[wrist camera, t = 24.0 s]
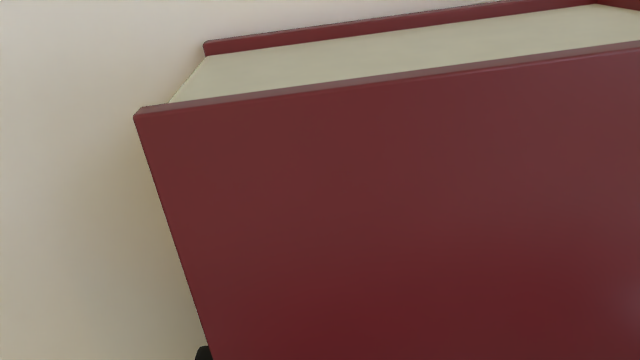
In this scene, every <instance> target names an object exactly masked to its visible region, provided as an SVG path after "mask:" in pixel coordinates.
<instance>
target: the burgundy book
mask: <svg viewBox="0 0 640 360" xmlns="http://www.w3.org/2000/svg"><path fill="white" fill-rule="evenodd" d="M203 49H204V53H205V58H204V60H203V61H202V62H201V63H200V64H199V66H198V67H197V68H196V69H195V70H194V72H193V73H192V74H191V75H190V76H189V78H188V79H187V80H186V81H185V82H184V84H183V85H182V86H181V87H180V89H179V90H178V91H177V92H176V93H175V95H174V96H173V97H172V98H171V99H170V101H169V102H168V103H167V104H159V105H152V106H144V107H141V108H140V109H139V110H138V111H137V112H136V113H135V114H134V115H133V120H134V123H135V126H136V129H137V132H138V135H139V138H140V141H141V144H142V147H143V150H144V153H145V156H146V159H147V162H148V165H149V168H150V171H151V174H152V177H153V180H154V183H155V186H156V189H157V192H158V195H159V198H160V201H161V205H162V208H163V211H164V214H165V217H166V220H167V223H168V226H169V229H170V232H171V235H172V238H173V241H174V244H175V247H176V250H177V253H178V256H179V259H180V262H181V265H182V268H183V271H184V274H185V277H186V280H187V283H188V286H189V289H190V292H191V295H192V298H193V301H194V304H195V307H196V310H197V313H198V316H199V319H200V322H201V325H202V328H203V331H204V334H205V337H206V340H207V343H208V346H209V349H210V352H211V355H212V358H213V360H640V0H505V1H498V2H490V3H483V4H476V5H468V6H461V7H453V8H446V9H439V10H431V11H424V12H416V13H409V14H401V15H394V16H387V17H379V18H372V19H364V20H357V21H350V22H342V23H335V24H327V25H320V26H312V27H305V28H298V29H290V30H283V31H275V32H268V33H261V34H253V35H246V36H238V37H231V38H224V39H216V40H209V41H206V42H205V43H204V44H203Z"/></svg>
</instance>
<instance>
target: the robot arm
mask: <svg viewBox="0 0 640 360" xmlns="http://www.w3.org/2000/svg"><path fill="white" fill-rule="evenodd" d="M195 360H213V358H212V355H211V352H210V349H209V346H202V347H200V348H199V349H198V351H197V354H196V357H195Z"/></svg>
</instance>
